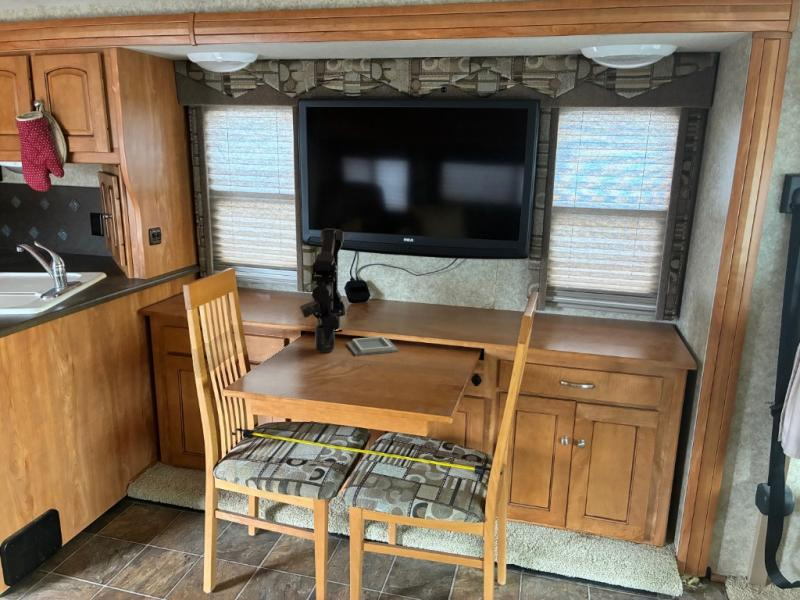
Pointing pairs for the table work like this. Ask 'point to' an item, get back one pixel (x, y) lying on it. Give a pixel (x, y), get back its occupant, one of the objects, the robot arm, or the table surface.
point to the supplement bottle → (323, 339)
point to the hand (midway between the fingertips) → (324, 336)
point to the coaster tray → (371, 346)
